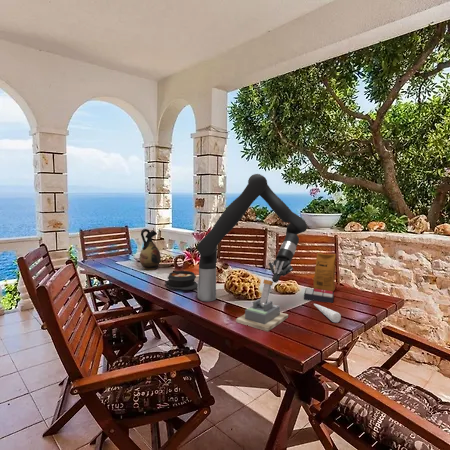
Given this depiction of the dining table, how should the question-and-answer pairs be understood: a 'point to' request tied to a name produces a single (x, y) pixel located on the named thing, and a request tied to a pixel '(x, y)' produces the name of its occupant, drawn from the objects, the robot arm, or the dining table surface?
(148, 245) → the ceramic jug
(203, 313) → the dining table surface
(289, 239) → the robot arm
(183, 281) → the casserole
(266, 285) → the lever
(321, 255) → the coffee package
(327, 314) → the unicorn horn
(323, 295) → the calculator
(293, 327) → the dining table surface
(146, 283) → the dining table surface
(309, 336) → the dining table surface
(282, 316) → the mounting board
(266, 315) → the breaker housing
